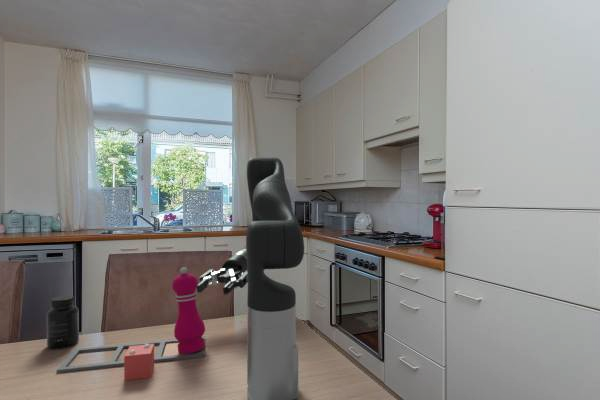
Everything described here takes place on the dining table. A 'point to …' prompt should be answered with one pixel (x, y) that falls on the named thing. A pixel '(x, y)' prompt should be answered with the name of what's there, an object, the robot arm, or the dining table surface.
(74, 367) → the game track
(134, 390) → the dining table surface
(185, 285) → the pepper mill
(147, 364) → the die
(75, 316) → the supplement bottle
